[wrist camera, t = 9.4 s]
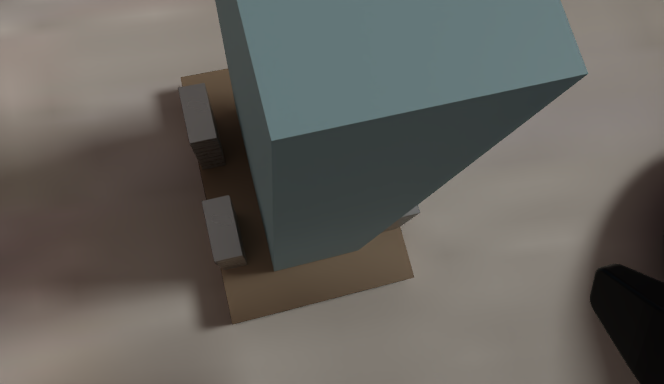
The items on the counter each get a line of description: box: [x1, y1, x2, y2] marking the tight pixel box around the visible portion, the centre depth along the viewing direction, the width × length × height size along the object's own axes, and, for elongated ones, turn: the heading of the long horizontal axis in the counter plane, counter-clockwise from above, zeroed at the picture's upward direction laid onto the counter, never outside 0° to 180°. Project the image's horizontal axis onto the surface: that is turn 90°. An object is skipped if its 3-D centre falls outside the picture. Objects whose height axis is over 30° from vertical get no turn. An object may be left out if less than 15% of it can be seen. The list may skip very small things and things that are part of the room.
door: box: [215, 0, 588, 271], centre depth 12 cm, size 6×3×14 cm, turn 15°
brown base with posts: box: [178, 69, 420, 324], centre depth 18 cm, size 9×6×4 cm
